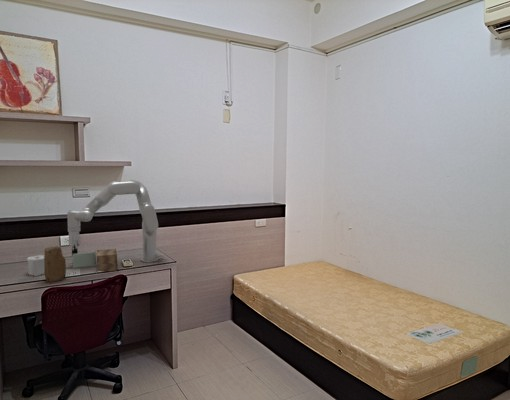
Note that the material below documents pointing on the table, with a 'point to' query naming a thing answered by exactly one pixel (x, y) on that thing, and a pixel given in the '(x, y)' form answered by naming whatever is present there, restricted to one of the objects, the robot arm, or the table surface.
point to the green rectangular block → (84, 259)
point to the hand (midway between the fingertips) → (74, 255)
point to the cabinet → (107, 260)
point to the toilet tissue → (36, 265)
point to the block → (54, 264)
